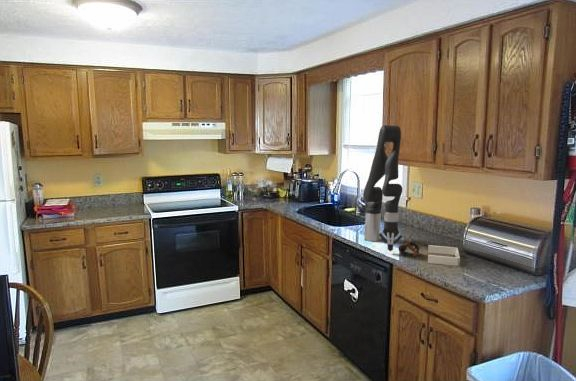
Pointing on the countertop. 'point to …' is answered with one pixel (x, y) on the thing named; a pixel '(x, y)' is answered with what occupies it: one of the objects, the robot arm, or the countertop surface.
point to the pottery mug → (409, 245)
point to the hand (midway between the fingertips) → (390, 250)
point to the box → (442, 259)
